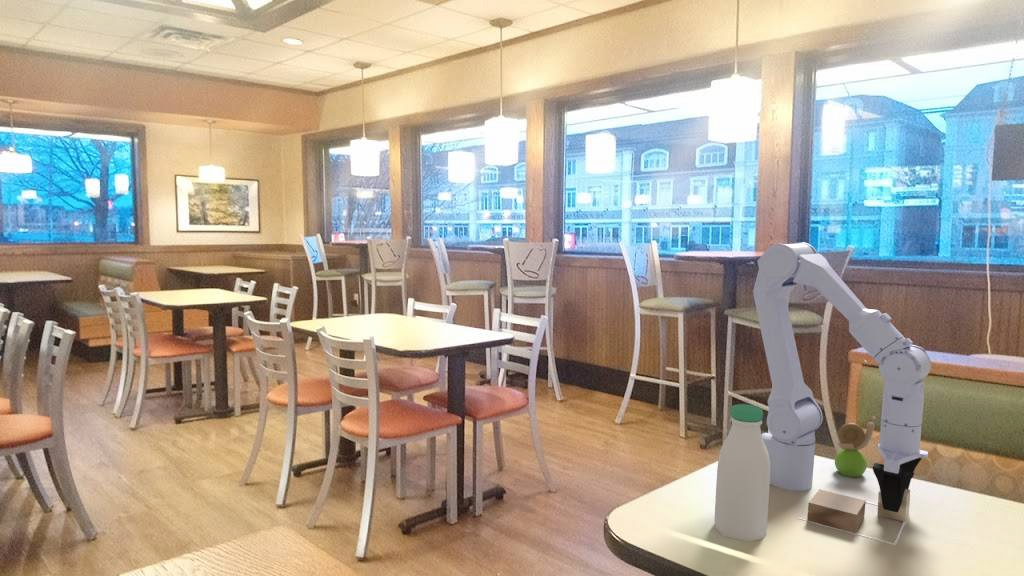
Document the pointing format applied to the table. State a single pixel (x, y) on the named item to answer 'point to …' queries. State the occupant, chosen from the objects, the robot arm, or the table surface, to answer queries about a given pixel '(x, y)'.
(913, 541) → the table surface
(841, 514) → the walnut base block
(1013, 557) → the table surface
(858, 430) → the snail figurine
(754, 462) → the milk bottle
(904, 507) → the maple cube
